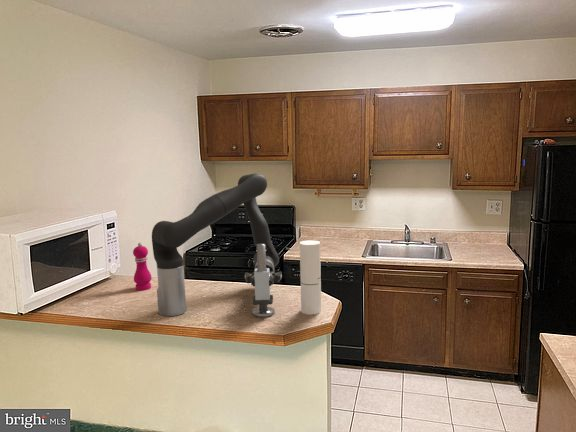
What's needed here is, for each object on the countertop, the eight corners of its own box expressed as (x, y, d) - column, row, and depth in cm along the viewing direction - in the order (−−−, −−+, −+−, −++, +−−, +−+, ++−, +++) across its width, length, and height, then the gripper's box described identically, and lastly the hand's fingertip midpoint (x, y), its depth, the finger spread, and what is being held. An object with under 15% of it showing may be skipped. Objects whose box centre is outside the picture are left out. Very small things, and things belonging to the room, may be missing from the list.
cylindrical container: (324, 309, 162) (323, 241, 158) (314, 316, 156) (313, 245, 152) (308, 306, 166) (306, 239, 162) (297, 312, 160) (295, 243, 156)
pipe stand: (251, 317, 156) (248, 247, 152) (253, 309, 164) (250, 242, 160) (274, 317, 156) (272, 246, 152) (275, 308, 164) (272, 241, 160)
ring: (252, 305, 156) (252, 301, 155) (253, 298, 163) (253, 294, 162) (272, 305, 156) (272, 300, 155) (273, 298, 163) (273, 294, 162)
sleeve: (255, 300, 156) (254, 272, 155) (256, 295, 161) (255, 268, 160) (269, 299, 156) (268, 272, 155) (270, 295, 161) (269, 268, 160)
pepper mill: (148, 284, 197) (144, 239, 194) (155, 288, 192) (151, 242, 189) (132, 288, 193) (128, 242, 190) (138, 292, 187) (134, 245, 184)
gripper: (245, 261, 172) (240, 273, 155) (282, 260, 172) (282, 272, 155) (246, 280, 173) (241, 294, 156) (283, 279, 173) (283, 293, 156)
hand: (262, 283), depth 155 cm, fingers closed on sleeve, 5 cm apart
